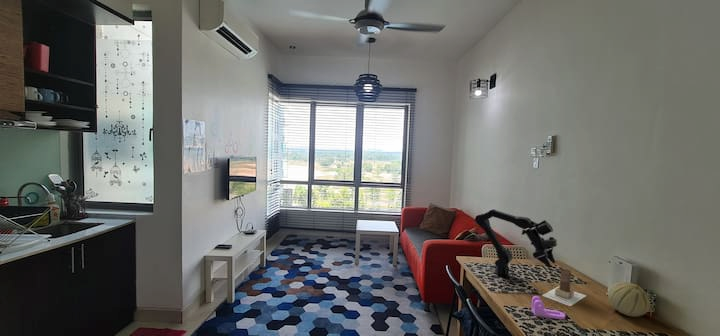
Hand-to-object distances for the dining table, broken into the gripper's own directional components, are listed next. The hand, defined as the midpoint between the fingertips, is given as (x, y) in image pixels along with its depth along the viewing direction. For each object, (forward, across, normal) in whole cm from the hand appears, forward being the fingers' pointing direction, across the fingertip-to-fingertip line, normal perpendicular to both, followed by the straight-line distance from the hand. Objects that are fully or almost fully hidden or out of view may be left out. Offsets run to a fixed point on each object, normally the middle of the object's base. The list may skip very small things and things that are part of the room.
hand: (552, 265), depth 168 cm
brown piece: (+14, -6, +1) cm, 16 cm away
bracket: (+14, -32, +3) cm, 35 cm away
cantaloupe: (+30, -4, -18) cm, 35 cm away
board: (+15, -6, +2) cm, 16 cm away
